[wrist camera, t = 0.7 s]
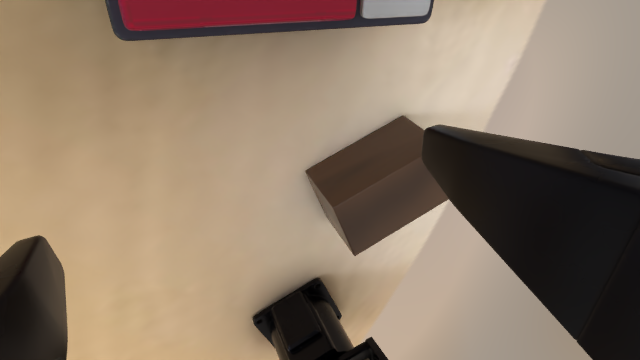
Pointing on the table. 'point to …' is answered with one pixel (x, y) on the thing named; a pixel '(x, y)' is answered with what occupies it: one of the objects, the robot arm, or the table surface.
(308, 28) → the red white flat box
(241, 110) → the table surface
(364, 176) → the walnut block
